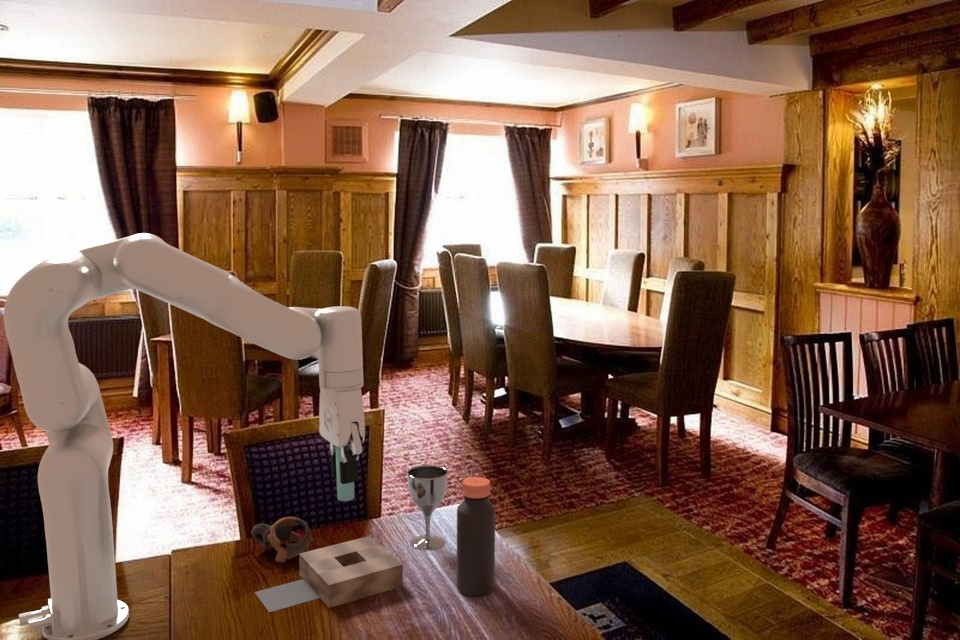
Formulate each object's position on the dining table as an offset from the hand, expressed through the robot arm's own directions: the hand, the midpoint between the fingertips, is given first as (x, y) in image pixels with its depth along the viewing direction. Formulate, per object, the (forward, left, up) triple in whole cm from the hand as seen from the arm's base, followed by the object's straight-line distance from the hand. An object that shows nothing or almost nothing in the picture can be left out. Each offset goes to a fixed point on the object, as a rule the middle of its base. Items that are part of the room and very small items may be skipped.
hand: (345, 478), depth 139 cm
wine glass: (+21, +7, -20) cm, 30 cm away
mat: (-10, +1, -20) cm, 22 cm away
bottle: (+19, -14, -20) cm, 31 cm away
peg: (0, 0, -4) cm, 4 cm away
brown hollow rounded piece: (-6, +18, -20) cm, 28 cm away
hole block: (+1, 0, -20) cm, 20 cm away
